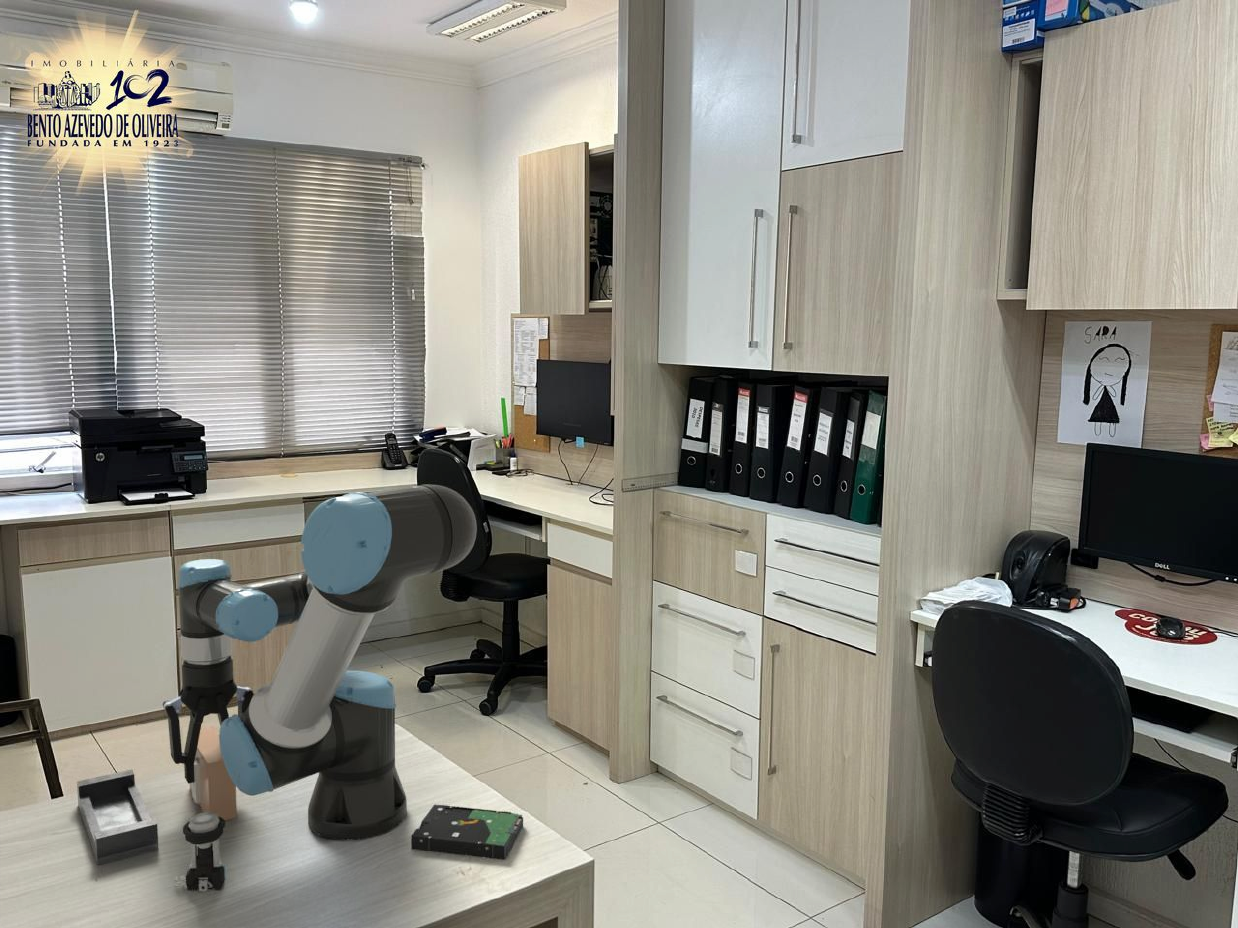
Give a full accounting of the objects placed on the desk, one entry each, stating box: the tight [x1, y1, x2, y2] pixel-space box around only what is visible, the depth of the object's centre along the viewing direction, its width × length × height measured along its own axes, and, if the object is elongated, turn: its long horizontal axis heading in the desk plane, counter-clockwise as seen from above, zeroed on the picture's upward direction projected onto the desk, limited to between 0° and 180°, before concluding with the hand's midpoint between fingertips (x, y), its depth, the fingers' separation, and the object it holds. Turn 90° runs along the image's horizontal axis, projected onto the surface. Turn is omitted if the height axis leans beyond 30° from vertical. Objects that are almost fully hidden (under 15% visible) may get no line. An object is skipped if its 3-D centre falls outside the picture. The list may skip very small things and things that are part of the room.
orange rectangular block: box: [187, 726, 238, 821], centre depth 158 cm, size 14×4×10 cm, turn 35°
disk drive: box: [410, 804, 524, 861], centre depth 150 cm, size 10×3×15 cm
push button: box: [174, 812, 227, 893], centre depth 134 cm, size 7×5×10 cm
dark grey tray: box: [76, 769, 159, 866], centre depth 150 cm, size 21×8×4 cm, turn 35°
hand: (212, 795), depth 158 cm, fingers closed on orange rectangular block, 4 cm apart
